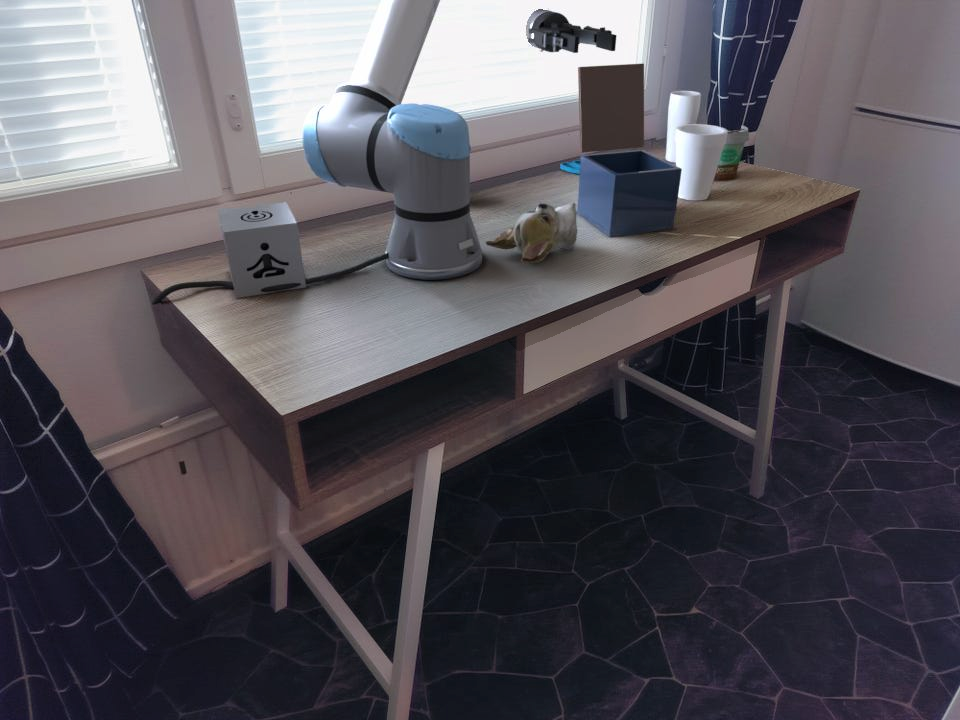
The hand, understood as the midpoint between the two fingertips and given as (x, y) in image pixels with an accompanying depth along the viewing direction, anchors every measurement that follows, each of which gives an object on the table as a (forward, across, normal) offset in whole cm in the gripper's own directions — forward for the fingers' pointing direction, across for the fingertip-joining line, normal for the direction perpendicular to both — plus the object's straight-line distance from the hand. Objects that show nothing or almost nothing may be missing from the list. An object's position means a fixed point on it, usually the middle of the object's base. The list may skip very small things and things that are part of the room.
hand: (595, 43), depth 131 cm
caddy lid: (+9, 0, -10) cm, 13 cm away
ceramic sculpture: (+27, +21, -28) cm, 44 cm away
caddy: (+17, 0, -28) cm, 33 cm away
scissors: (-10, -8, -28) cm, 31 cm away
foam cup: (+8, -20, -28) cm, 35 cm away
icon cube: (+24, +64, -28) cm, 74 cm away
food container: (-1, -33, -28) cm, 43 cm away
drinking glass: (-16, -31, -28) cm, 45 cm away
